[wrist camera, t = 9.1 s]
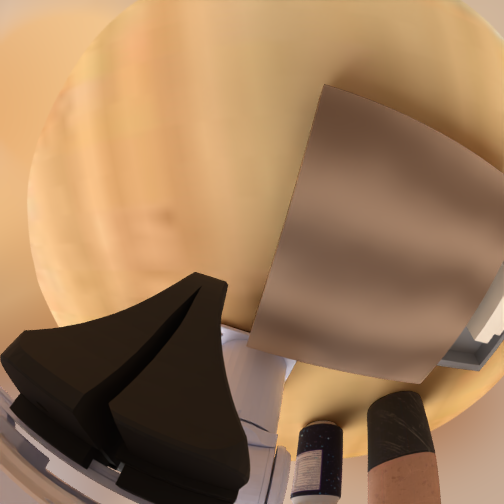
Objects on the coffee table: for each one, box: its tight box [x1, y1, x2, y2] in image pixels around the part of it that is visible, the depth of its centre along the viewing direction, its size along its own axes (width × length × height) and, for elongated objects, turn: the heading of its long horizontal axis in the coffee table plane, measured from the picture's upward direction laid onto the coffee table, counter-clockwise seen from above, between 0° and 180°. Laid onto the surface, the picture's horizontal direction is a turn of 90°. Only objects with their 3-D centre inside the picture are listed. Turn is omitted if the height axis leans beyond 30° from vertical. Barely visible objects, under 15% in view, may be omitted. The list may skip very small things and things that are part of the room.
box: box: [437, 327, 504, 371], centre depth 17 cm, size 16×9×2 cm, turn 166°
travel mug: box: [367, 391, 441, 504], centre depth 17 cm, size 8×8×20 cm
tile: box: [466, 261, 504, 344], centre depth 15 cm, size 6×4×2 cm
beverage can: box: [291, 421, 343, 504], centre depth 24 cm, size 6×6×12 cm
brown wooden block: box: [246, 84, 504, 384], centre depth 17 cm, size 18×16×4 cm
